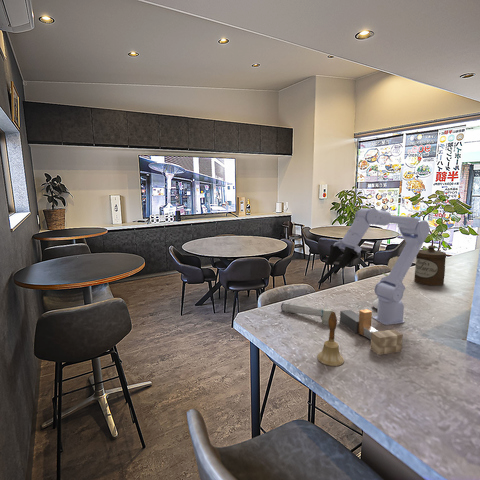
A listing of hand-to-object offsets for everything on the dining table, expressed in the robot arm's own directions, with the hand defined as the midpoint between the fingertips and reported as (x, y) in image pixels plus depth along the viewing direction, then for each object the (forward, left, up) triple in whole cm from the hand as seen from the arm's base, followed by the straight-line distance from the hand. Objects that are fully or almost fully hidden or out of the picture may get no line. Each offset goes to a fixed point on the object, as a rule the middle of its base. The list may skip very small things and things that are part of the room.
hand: (334, 265), depth 111 cm
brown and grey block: (-10, +3, -26) cm, 28 cm away
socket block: (-10, +17, -26) cm, 33 cm away
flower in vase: (-36, -13, -26) cm, 47 cm away
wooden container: (-89, -42, -27) cm, 102 cm away
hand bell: (+11, +17, -27) cm, 33 cm away
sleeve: (-10, -1, -26) cm, 28 cm away
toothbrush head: (+3, -15, -27) cm, 31 cm away
